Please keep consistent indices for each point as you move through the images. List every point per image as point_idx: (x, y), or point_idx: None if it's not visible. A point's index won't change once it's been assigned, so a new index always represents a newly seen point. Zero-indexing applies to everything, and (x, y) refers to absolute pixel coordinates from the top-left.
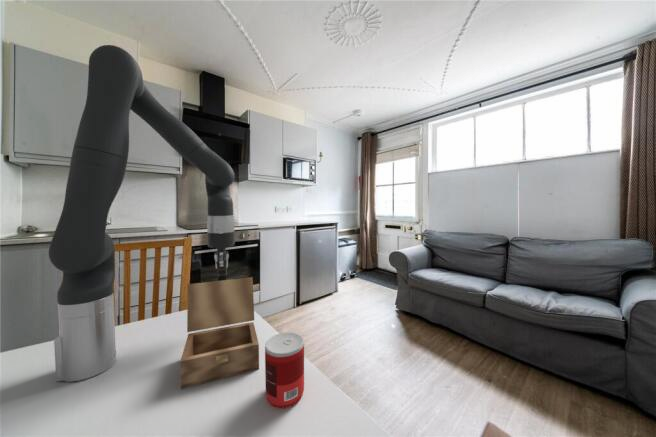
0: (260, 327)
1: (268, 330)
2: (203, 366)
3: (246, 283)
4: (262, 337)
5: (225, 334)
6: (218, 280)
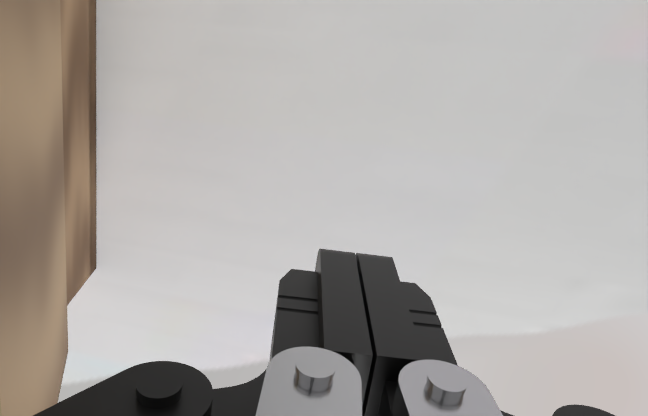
0: (260, 337)
1: (200, 364)
2: None
3: None
4: (135, 319)
5: None
6: (318, 302)
